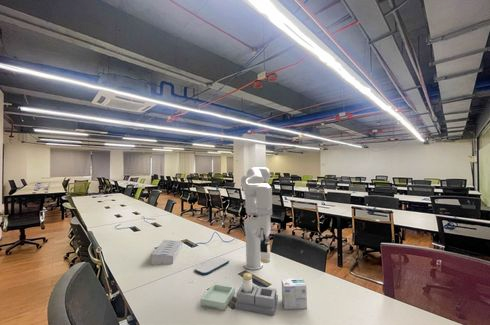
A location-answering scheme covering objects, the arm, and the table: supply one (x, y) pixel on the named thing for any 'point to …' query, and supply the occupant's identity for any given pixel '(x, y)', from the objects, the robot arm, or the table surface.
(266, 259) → the fuse
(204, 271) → the external hard drive
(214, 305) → the parts tray
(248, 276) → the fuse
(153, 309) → the table surface
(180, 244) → the warehouse
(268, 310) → the panel
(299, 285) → the light bulb box
